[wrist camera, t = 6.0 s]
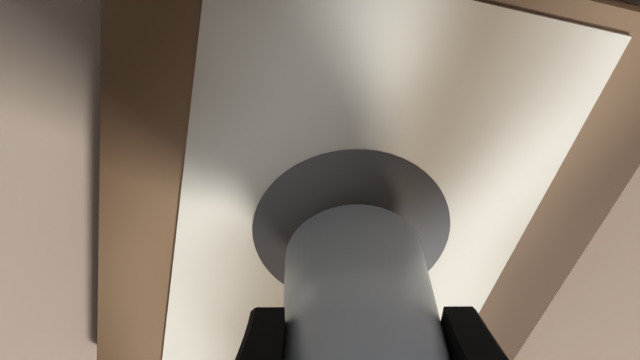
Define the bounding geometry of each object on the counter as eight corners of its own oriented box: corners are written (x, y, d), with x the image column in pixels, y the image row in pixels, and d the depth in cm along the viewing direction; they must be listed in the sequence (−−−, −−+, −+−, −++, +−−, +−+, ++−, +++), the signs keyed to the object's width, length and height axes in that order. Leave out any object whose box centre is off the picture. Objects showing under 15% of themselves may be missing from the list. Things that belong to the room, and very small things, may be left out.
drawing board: (709, 22, 13) (729, 34, 12) (476, 395, 21) (481, 414, 20) (112, -120, 11) (101, -114, 10) (102, 349, 19) (95, 368, 18)
